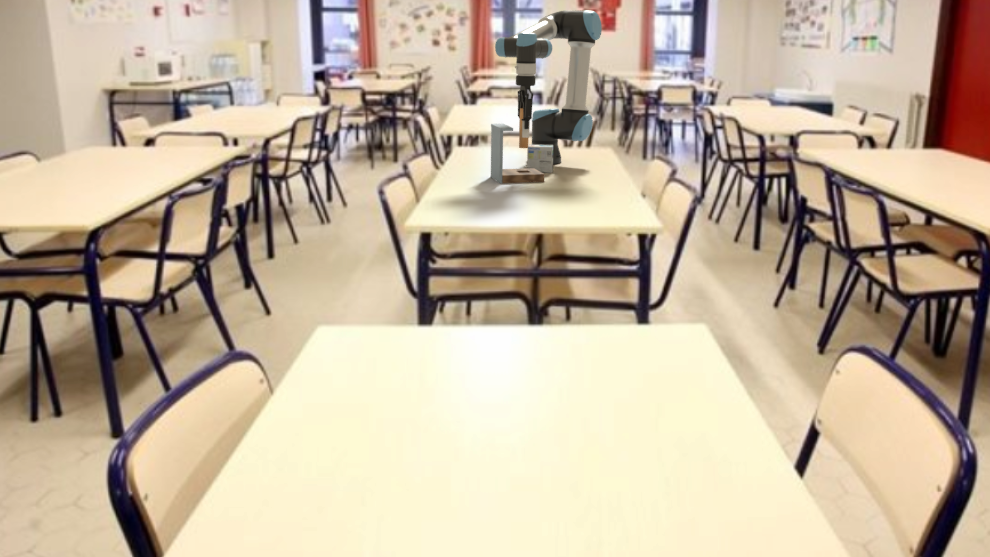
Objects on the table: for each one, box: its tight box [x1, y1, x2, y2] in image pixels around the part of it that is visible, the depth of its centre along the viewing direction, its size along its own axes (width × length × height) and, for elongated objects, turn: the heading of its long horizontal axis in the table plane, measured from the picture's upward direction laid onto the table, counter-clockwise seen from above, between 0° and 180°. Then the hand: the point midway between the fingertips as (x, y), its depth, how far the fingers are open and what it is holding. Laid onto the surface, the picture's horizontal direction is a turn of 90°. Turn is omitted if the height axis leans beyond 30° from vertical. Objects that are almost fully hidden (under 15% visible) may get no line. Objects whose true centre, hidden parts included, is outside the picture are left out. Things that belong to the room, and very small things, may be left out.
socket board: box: [501, 167, 545, 184], centre depth 329 cm, size 17×14×3 cm
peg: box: [518, 108, 530, 149], centre depth 323 cm, size 4×4×15 cm
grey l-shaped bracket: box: [490, 123, 514, 184], centre depth 324 cm, size 5×15×21 cm, turn 14°
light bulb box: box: [526, 144, 554, 174], centre depth 347 cm, size 11×7×11 cm, turn 84°
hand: (524, 136), depth 324 cm, fingers closed on peg, 3 cm apart
